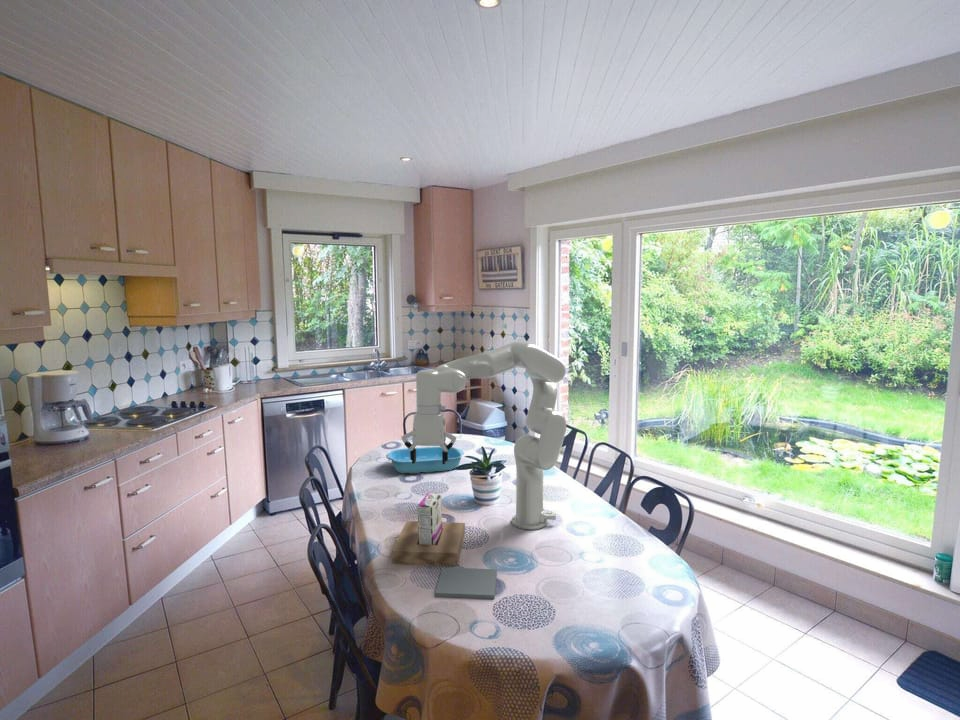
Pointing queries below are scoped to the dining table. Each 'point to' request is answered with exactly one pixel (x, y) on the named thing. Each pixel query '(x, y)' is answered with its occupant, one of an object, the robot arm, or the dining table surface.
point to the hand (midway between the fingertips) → (429, 462)
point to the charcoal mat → (467, 583)
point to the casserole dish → (424, 459)
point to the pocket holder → (439, 554)
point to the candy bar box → (430, 519)
